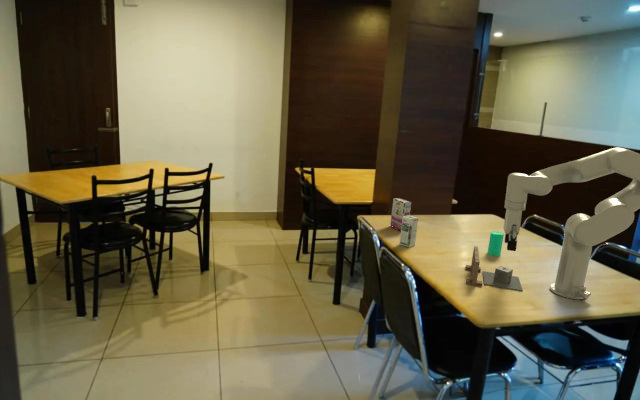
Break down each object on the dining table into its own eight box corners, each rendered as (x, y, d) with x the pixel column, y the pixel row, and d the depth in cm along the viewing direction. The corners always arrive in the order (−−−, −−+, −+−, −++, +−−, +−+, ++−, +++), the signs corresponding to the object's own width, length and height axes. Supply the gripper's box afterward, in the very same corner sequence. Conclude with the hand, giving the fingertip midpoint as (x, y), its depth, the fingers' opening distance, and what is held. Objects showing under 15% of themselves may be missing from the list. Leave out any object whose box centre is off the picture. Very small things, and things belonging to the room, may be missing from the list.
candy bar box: (408, 231, 234) (412, 202, 230) (401, 232, 232) (404, 202, 228) (397, 225, 244) (400, 197, 240) (389, 226, 241) (392, 198, 238)
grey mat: (518, 278, 178) (518, 276, 178) (522, 291, 165) (522, 290, 165) (482, 272, 182) (482, 271, 182) (484, 284, 169) (484, 283, 169)
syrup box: (398, 244, 211) (401, 216, 207) (405, 242, 215) (408, 214, 211) (408, 247, 207) (411, 219, 203) (415, 245, 211) (418, 217, 208)
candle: (501, 256, 203) (505, 232, 200) (488, 254, 204) (492, 231, 201) (499, 252, 209) (503, 228, 206) (486, 250, 210) (490, 227, 207)
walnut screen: (465, 266, 187) (468, 245, 184) (479, 269, 185) (483, 247, 183) (465, 284, 168) (469, 260, 166) (482, 287, 166) (485, 263, 164)
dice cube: (510, 280, 173) (513, 269, 172) (505, 284, 170) (507, 272, 168) (498, 276, 176) (500, 265, 175) (493, 279, 173) (495, 268, 172)
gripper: (502, 199, 175) (498, 239, 179) (507, 208, 159) (501, 252, 163) (522, 201, 173) (517, 241, 177) (529, 210, 157) (523, 254, 161)
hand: (509, 246), depth 170 cm, fingers open, 9 cm apart
